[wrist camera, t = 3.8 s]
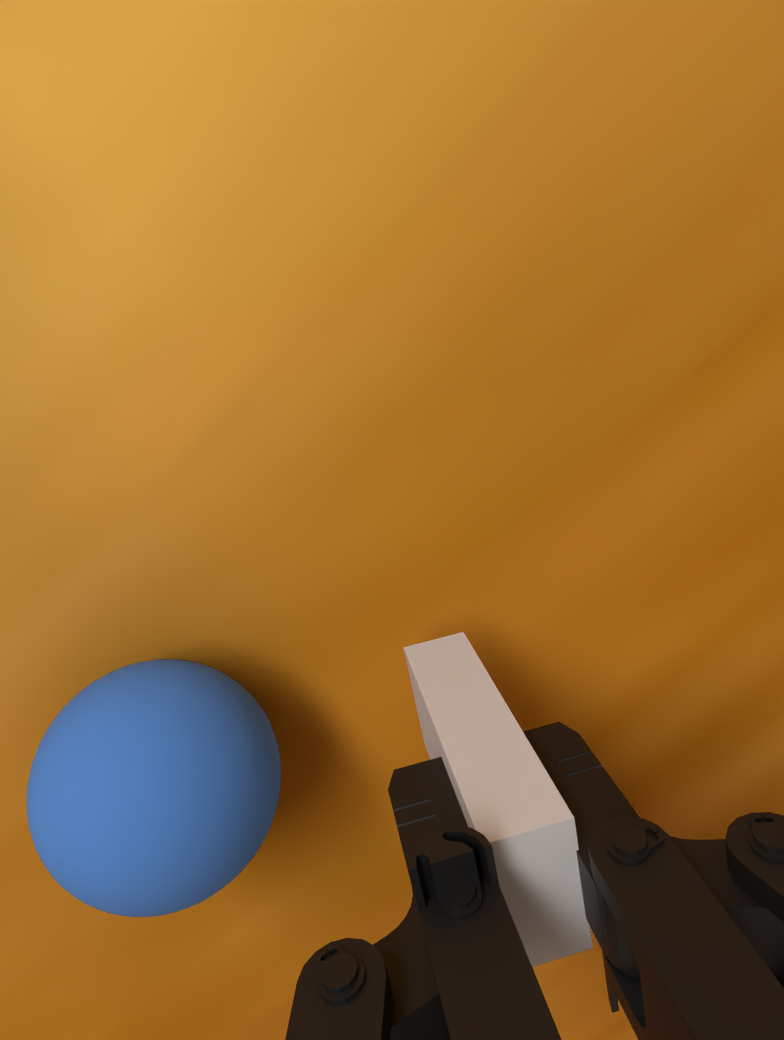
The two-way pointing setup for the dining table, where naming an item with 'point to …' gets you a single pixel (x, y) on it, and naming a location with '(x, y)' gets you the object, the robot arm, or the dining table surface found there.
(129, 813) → the ball
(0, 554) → the dining table surface
